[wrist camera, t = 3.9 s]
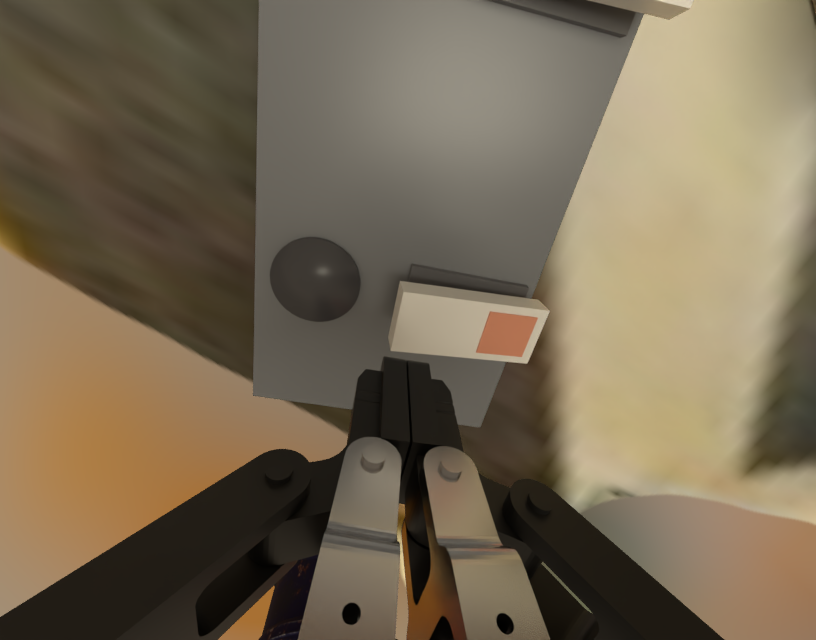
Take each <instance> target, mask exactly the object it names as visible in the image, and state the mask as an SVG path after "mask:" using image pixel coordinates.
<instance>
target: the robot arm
mask: <svg viewBox="0 0 816 640" xmlns="http://www.w3.org/2000/svg"><path fill="white" fill-rule="evenodd" d="M399 503H401V504H405V519H404V522H403V525H402V530H401V535H402V545H403V556H404V567H405V578H406V588H407V599H408V614H409V615H408V627H407V640H724V639H723V638H722V637H720V636H719V635H718V634H717V633H716V632H715V631H714V630H713V629H711V628H710V627H709V626H708V625H707V624H706V623H704V622H703V621H702V620H701V619H700V618H699V617H698V616H697V615H695V614H694V613H693V612H692V611H691V610H690V609H688V608H687V607H686V606H685V605H684V604H683V603H682V602H680V601H679V600H678V599H677V598H676V597H675V596H674V595H672V594H671V593H670V592H669V591H668V590H667V589H666V588H664V587H663V586H662V585H661V584H660V583H659V582H657V581H656V580H655V579H654V578H653V577H652V576H651V575H649V574H648V573H647V572H646V571H645V570H644V569H643V568H641V567H640V566H639V565H638V564H637V563H636V562H634V561H633V560H632V559H631V558H630V557H629V556H628V555H626V554H625V553H624V552H623V551H622V550H621V549H620V548H618V547H617V546H616V545H615V544H614V543H613V542H611V541H610V540H609V539H608V538H607V537H606V536H605V535H603V534H602V533H601V532H600V531H599V530H598V529H596V528H595V527H594V526H593V525H592V524H591V523H590V522H589V521H587V520H586V519H585V518H584V517H583V516H582V515H580V514H579V513H578V512H577V511H576V510H575V509H574V508H572V507H571V506H570V505H569V504H568V503H567V502H566V501H564V500H563V499H562V498H561V497H560V496H559V495H558V494H556V493H555V492H554V491H553V490H552V489H550V488H549V487H548V486H546V485H544V484H543V483H540V482H538V481H535V480H531V479H521V480H518V481H516V482H515V483H514V484H513V485H512V487H511V488H509V487H506V486H504V485H502V484H499V483H497V482H494V481H492V480H489V479H487V478H485V477H484V476H482V475H480V474H479V473H478V472H477V469H476V466H475V464H474V463H473V461H472V460H471V459H470V458H469V457H468V456H467V455H466V454H465V453H464V452H463V447H462V443H461V438H460V433H459V429H458V424H457V419H456V415H455V410H454V406H453V400H452V396H451V391H450V390H449V389H448V387H447V386H446V385H445V383H444V382H443V381H442V380H437V379H431V372H430V365H429V363H426V362H419V361H413V360H406V359H400V358H393V357H387V356H384V357H383V360H382V365H381V369H380V371H377V370H370V369H365V370H364V372H363V373H362V374H361V375H360V376H359V377H358V380H357V385H356V391H355V397H354V402H353V408H352V413H351V420H350V427H349V433H348V440H347V446H346V447H345V448H344V449H343V451H341V452H340V453H339V454H337V455H336V456H334V457H332V458H330V459H326V460H322V461H316V462H308V460H307V459H306V458H305V457H304V456H303V455H301V454H300V453H298V452H296V451H292V450H287V449H276V450H271V451H268V452H266V453H263V454H262V455H260V456H258V457H256V458H255V459H253V460H252V461H250V462H248V463H247V464H245V465H244V466H242V467H240V468H239V469H237V470H235V471H234V472H232V473H231V474H229V475H228V476H226V477H224V478H223V479H221V480H219V481H218V482H216V483H215V484H213V485H211V486H210V487H208V488H207V489H205V490H203V491H202V492H200V493H199V494H197V495H195V496H194V497H192V498H191V499H189V500H188V501H186V502H184V503H183V504H181V505H179V506H178V507H176V508H175V509H173V510H172V511H170V512H168V513H167V514H165V515H163V516H162V517H160V518H158V519H157V520H155V521H154V522H152V523H151V524H149V525H147V526H146V527H144V528H143V529H141V530H139V531H138V532H136V533H134V534H133V535H131V536H130V537H128V538H126V539H125V540H123V541H122V542H120V543H118V544H117V545H115V546H114V547H112V548H111V549H109V550H107V551H106V552H104V553H102V554H101V555H99V556H98V557H96V558H94V559H93V560H91V561H90V562H88V563H86V564H85V565H83V566H81V567H80V568H78V569H77V570H75V571H73V572H72V573H70V574H69V575H67V576H65V577H64V578H62V579H61V580H59V581H57V582H56V583H54V584H53V585H51V586H49V587H48V588H47V589H45V590H43V591H41V592H40V593H38V594H37V595H35V596H33V597H32V598H30V599H29V600H27V601H26V602H24V603H22V604H21V605H19V606H17V607H16V608H14V609H13V610H11V611H9V612H8V613H6V614H4V615H3V616H1V617H0V640H218V639H219V638H220V637H221V636H222V635H223V634H224V633H225V632H226V631H227V630H228V629H229V628H230V627H231V626H232V625H233V624H234V623H235V622H236V621H237V620H238V619H239V618H240V617H242V616H243V615H244V614H245V613H246V612H247V611H248V610H249V608H251V607H252V606H253V605H254V604H255V603H256V602H257V601H258V600H259V599H260V598H261V597H262V596H263V595H264V594H265V593H266V592H267V591H268V590H270V589H271V587H273V586H274V585H275V584H276V583H277V582H278V581H279V580H280V579H281V578H282V577H283V576H284V575H285V574H286V573H287V572H288V571H289V570H290V569H291V568H292V567H293V566H294V565H295V564H296V562H297V561H298V560H300V559H304V558H307V557H311V556H315V555H318V554H319V556H318V560H317V564H316V568H315V572H314V576H313V580H312V584H311V588H310V592H309V596H308V600H307V604H306V608H305V612H304V616H303V620H302V624H301V628H300V632H299V636H298V640H397V639H395V634H396V616H397V599H398V580H399V564H400V544H399V542H398V541H397V538H396V536H397V520H398V505H399ZM542 562H544V563H545V564H546V565H547V566H548V567H549V568H550V569H551V570H552V571H553V572H554V573H555V574H556V575H557V576H558V577H559V578H560V579H561V580H562V581H563V582H564V583H565V585H566V586H568V588H569V589H570V590H571V591H572V592H573V593H574V594H575V595H576V596H577V597H578V598H579V599H580V600H581V601H582V602H583V603H584V604H585V605H586V606H587V607H588V608H589V609H590V610H591V612H592V613H593V614H592V613H590V612H589V611H587V610H586V609H585V608H584V607H582V605H581V604H580V603H579V602H578V601H577V600H576V599H575V598H574V597H573V596H572V595H571V594H570V593H569V592H568V591H567V590H566V589H565V588H564V587H563V586H562V585H561V584H560V583H559V582H558V581H557V580H556V579H555V577H554V576H552V574H551V573H550V572H549V571H548V570H547V569H546V568H545V567H544V566H543V565H542V564H541V563H542Z"/></svg>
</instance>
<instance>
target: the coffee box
mask: <svg viewBox="0 0 816 640" xmlns="http://www.w3.org/2000/svg"><path fill="white" fill-rule="evenodd" d="M812 1H813V6H814V10H815V14H816V0H812Z"/></svg>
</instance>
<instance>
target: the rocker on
mask: <svg viewBox="0 0 816 640" xmlns="http://www.w3.org/2000/svg"><path fill="white" fill-rule="evenodd" d="M549 312H550V311H549V310H548V309H547V308H546V307H545V306H544V305H543V304H542V303H541V302H540V301H539V300H536V299H529V298H522V297H515V296H507V295H500V294H493V293H485V292H478V291H471V290H464V289H456V288H449V287H442V286H434V285H427V284H420V283H413V282H405V281H400V283H399V288H398V292H397V297H396V302H395V307H394V312H393V316H392V321H391V326H390V331H389V335H388V339H389V345H390V350H391V351H397V352H408V353H419V354H429V355H440V356H451V357H462V358H472V359H483V360H494V361H504V362H515V363H526V364H527V363H528V361H529V359H530V356H531V354H532V352H533V349H534V347H535V345H536V342H537V340H538V338H539V335H540V333H541V331H542V328H543V326H544V324H545V321H546V319H547V317H548V314H549Z"/></svg>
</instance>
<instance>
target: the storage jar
mask: <svg viewBox="0 0 816 640" xmlns="http://www.w3.org/2000/svg"><path fill="white" fill-rule="evenodd" d="M396 538H397V536H396ZM318 556H319V554H318V555H315V556H311V557H307V558H304V559H300V560H298V561H297V562H296V564H295V565H294V566H293V567H292V568H291V569H290V570H289V571H288V572H287V573H286V574H285V575H284V576H283V577H282V578H281V579H280V580H279V581H278V582H277V583H276V584H275V585H274V586H275V589H274V592H273V596H272V600H271V604H270V607H269V611H268V615H267V619H266V622H265V626H264V630H263V633H262V636H261V637H260V638H259V640H298V636H299V632H300V628H301V624H302V620H303V616H304V612H305V608H306V604H307V600H308V596H309V592H310V588H311V584H312V580H313V576H314V572H315V568H316V564H317V560H318Z"/></svg>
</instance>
